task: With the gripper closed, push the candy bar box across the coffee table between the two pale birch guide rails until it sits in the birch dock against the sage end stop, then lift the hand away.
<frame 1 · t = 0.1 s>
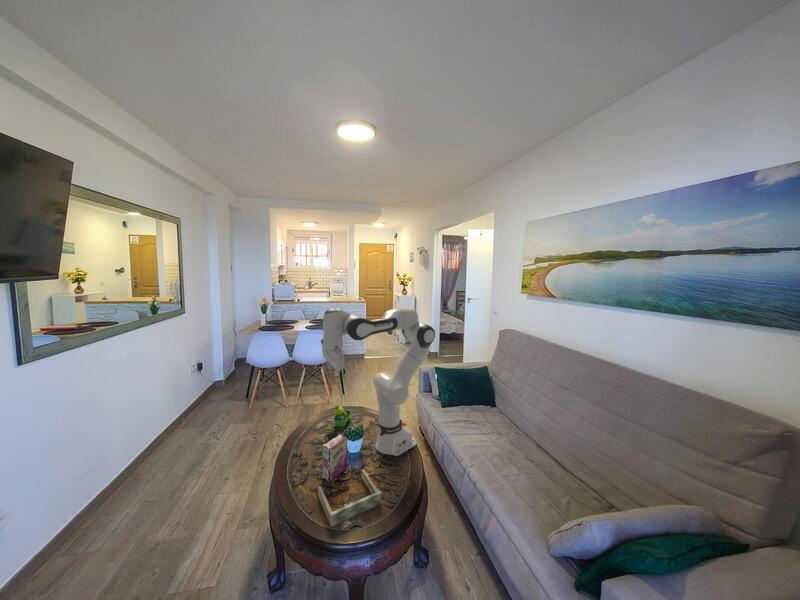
hand: (333, 372, 138), 48 cm above the table, fingers open, 8 cm apart
candy bar box: (334, 473, 140), on the table
dock: (348, 498, 126), on the table
phone: (334, 442, 163), on the table
fruit basket: (341, 423, 182), on the table
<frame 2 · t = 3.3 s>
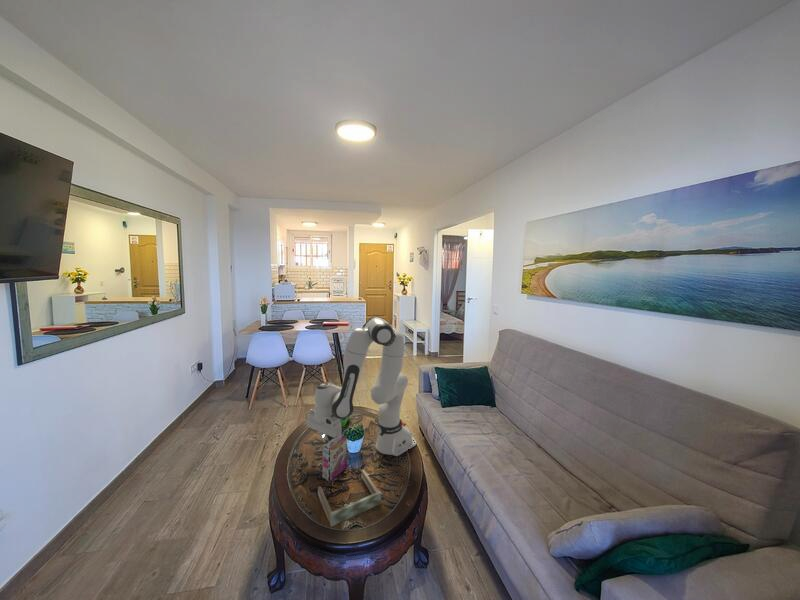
hand: (323, 439, 151), 9 cm above the table, fingers closed
nothing on the table moved.
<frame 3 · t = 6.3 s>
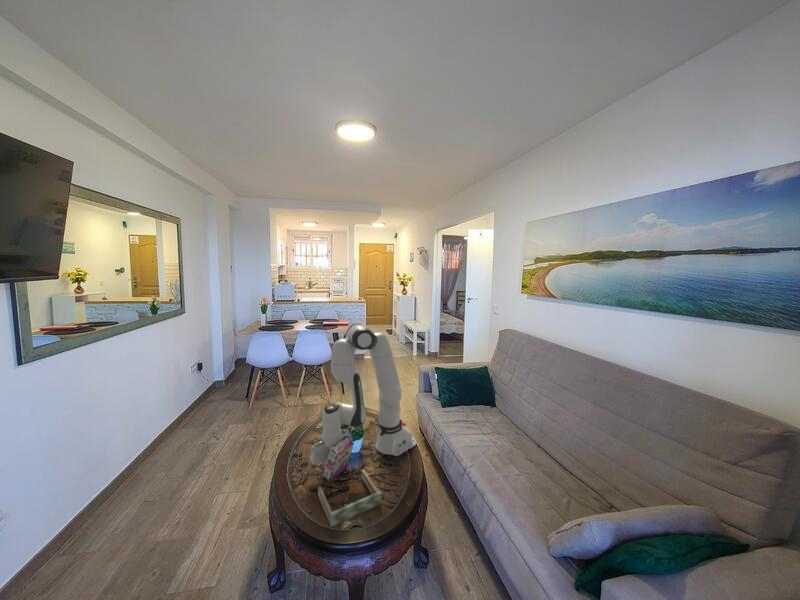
hand: (332, 464, 143), 2 cm above the table, fingers closed
candy bar box: (334, 472, 140), on the table, touching gripper
everything else where it was.
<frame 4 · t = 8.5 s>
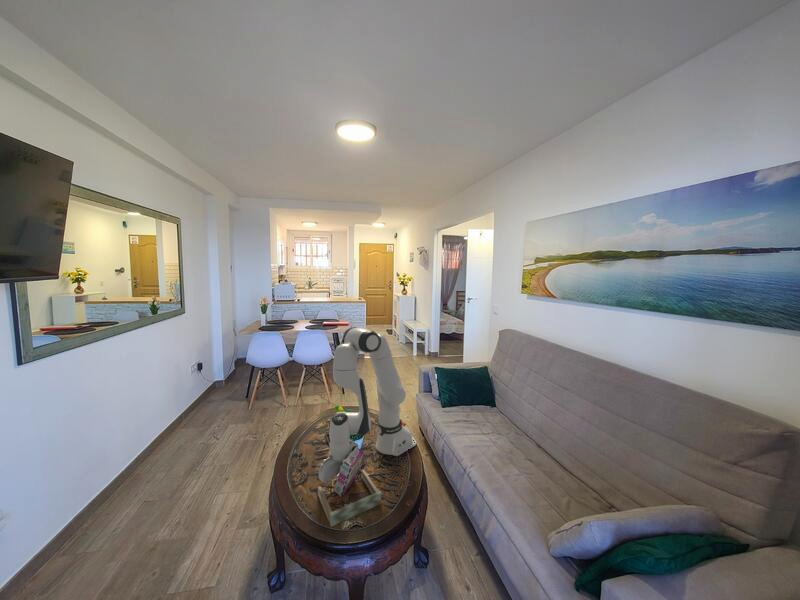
hand: (339, 478, 134), 2 cm above the table, fingers closed
candy bar box: (344, 485, 132), on the table, touching arm, gripper
everything else where it was.
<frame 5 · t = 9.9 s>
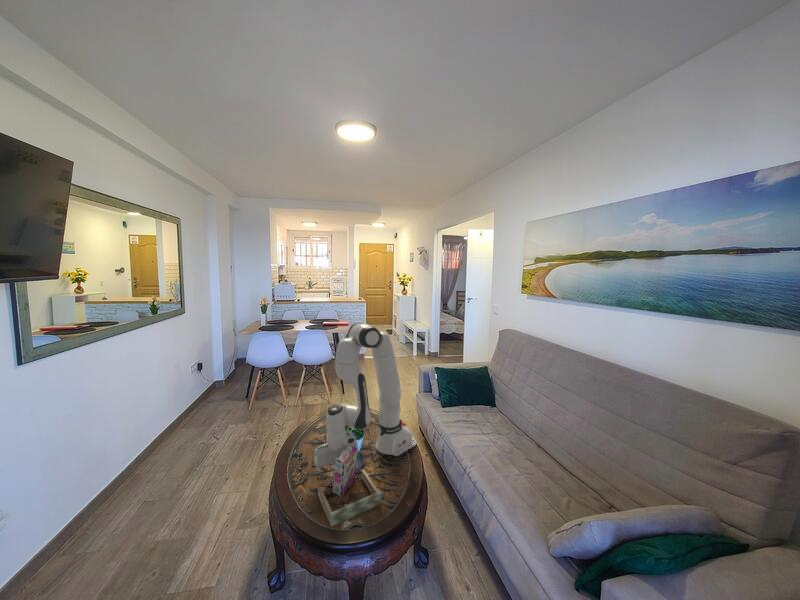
hand: (337, 467, 139), 3 cm above the table, fingers closed
candy bar box: (344, 486, 132), on the table
everything else where it was.
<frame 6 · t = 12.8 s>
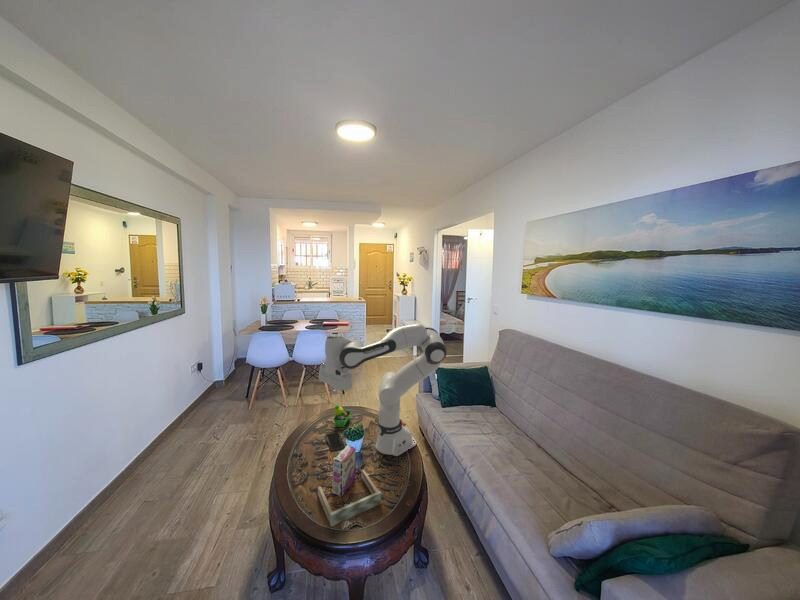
hand: (334, 393, 146), 34 cm above the table, fingers closed
at the end: candy bar box inside the target area on the dock (6.7 cm from its centre), point 0.0 cm above the dock's base; candy bar box moved 10.1 cm from its start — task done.
